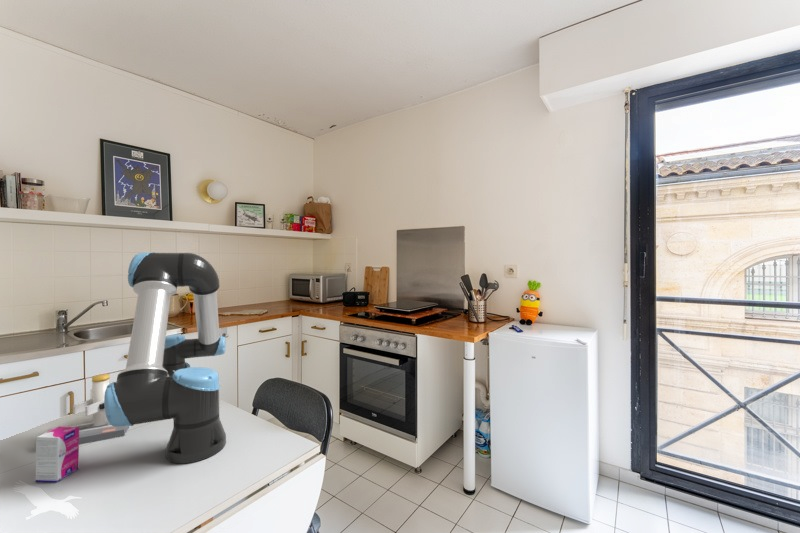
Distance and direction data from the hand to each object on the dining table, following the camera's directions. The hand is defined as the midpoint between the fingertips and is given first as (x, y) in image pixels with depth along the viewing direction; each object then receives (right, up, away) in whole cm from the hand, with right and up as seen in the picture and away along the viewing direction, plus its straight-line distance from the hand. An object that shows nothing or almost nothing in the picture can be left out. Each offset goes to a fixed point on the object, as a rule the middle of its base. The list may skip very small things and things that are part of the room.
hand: (80, 410), depth 102 cm
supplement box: (+8, -11, -15) cm, 20 cm away
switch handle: (+1, -8, +6) cm, 10 cm away
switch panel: (-2, -10, +4) cm, 11 cm away
